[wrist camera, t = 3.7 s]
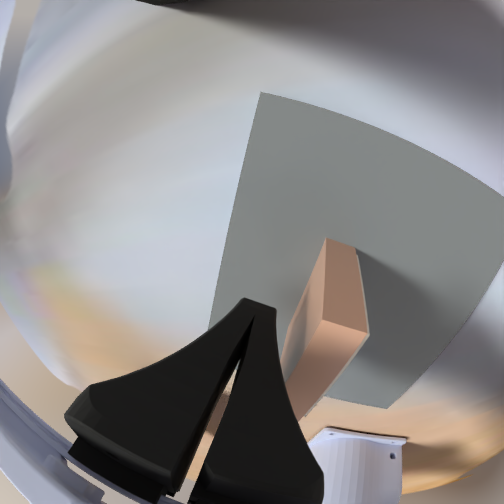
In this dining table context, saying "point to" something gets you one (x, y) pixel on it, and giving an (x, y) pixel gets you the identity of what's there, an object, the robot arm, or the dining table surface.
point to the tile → (325, 327)
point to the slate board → (360, 237)
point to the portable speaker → (161, 1)
